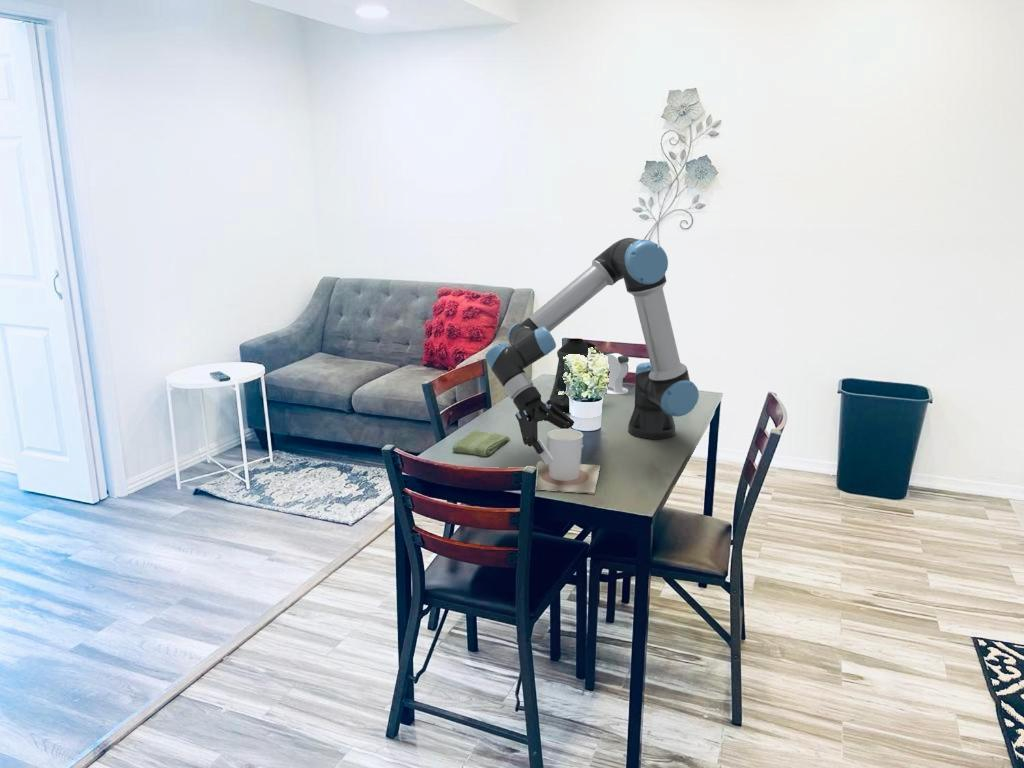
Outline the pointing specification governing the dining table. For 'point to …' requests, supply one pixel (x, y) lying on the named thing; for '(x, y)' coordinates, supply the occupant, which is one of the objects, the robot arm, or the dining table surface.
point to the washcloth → (480, 443)
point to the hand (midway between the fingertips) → (565, 455)
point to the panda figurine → (617, 372)
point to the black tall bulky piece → (569, 348)
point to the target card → (579, 485)
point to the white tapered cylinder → (565, 453)
